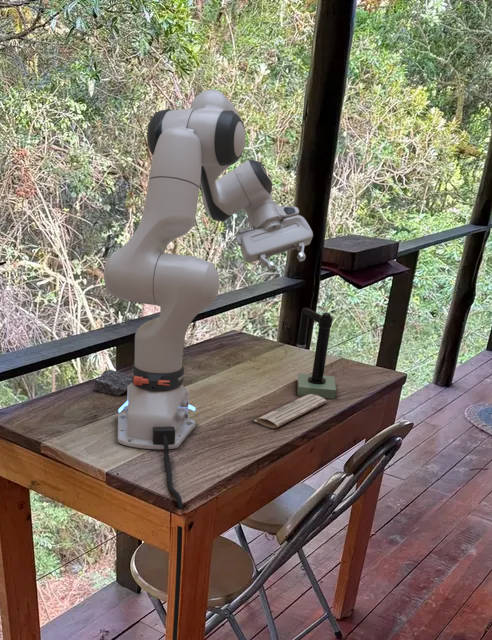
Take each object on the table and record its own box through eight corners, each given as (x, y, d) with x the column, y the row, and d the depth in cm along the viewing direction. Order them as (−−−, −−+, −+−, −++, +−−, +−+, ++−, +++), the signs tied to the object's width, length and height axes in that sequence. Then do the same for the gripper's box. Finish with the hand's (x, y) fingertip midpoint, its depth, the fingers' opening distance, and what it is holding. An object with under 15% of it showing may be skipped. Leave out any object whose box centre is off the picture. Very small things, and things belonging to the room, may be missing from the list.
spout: (329, 359, 200) (336, 313, 193) (318, 360, 198) (324, 314, 192) (304, 345, 210) (310, 301, 203) (293, 346, 208) (299, 301, 202)
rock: (123, 398, 193) (123, 383, 191) (91, 390, 197) (91, 374, 195) (140, 390, 198) (140, 375, 196) (108, 382, 203) (108, 367, 200)
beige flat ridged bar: (276, 429, 180) (277, 423, 179) (252, 421, 184) (253, 414, 183) (326, 404, 196) (327, 398, 195) (302, 397, 200) (303, 391, 199)
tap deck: (334, 398, 200) (336, 390, 199) (297, 395, 201) (298, 386, 199) (332, 384, 209) (334, 376, 208) (297, 381, 210) (298, 373, 209)
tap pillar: (325, 385, 201) (334, 330, 194) (308, 383, 202) (315, 329, 194) (325, 379, 205) (333, 325, 198) (307, 377, 206) (315, 324, 198)
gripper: (234, 225, 202) (255, 268, 199) (302, 205, 205) (323, 247, 203) (231, 240, 208) (250, 282, 205) (297, 220, 211) (317, 261, 209)
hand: (287, 264), depth 204 cm, fingers open, 8 cm apart
